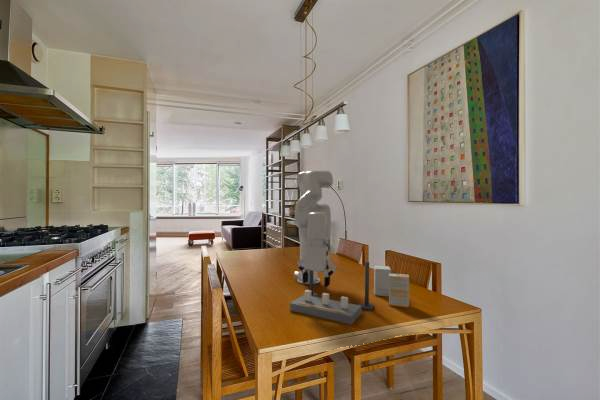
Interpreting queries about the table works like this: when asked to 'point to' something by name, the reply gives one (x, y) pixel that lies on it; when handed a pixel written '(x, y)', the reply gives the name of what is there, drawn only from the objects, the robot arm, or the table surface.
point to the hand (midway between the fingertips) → (315, 284)
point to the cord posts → (365, 305)
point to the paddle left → (307, 295)
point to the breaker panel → (326, 309)
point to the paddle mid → (325, 298)
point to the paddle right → (344, 302)
